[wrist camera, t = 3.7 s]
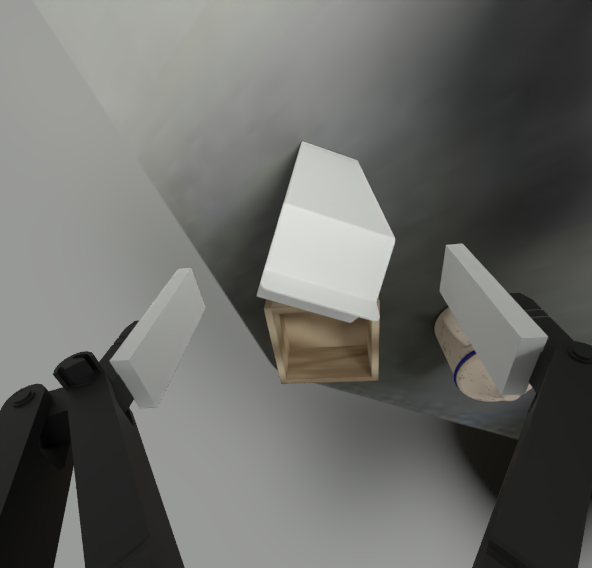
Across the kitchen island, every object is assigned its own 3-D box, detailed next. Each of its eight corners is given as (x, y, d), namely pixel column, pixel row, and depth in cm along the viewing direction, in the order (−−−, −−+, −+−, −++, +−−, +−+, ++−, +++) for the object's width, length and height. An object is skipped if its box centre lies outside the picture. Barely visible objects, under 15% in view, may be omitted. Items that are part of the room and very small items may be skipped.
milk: (336, 213, 35) (356, 365, 16) (284, 196, 34) (244, 336, 16) (358, 158, 31) (414, 272, 13) (301, 138, 31) (275, 229, 12)
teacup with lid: (517, 322, 41) (579, 396, 31) (457, 356, 45) (494, 432, 35) (465, 268, 37) (516, 335, 28) (404, 311, 41) (430, 382, 32)
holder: (271, 278, 40) (263, 308, 34) (371, 270, 38) (379, 301, 33) (285, 349, 46) (281, 383, 41) (371, 345, 45) (378, 380, 40)
